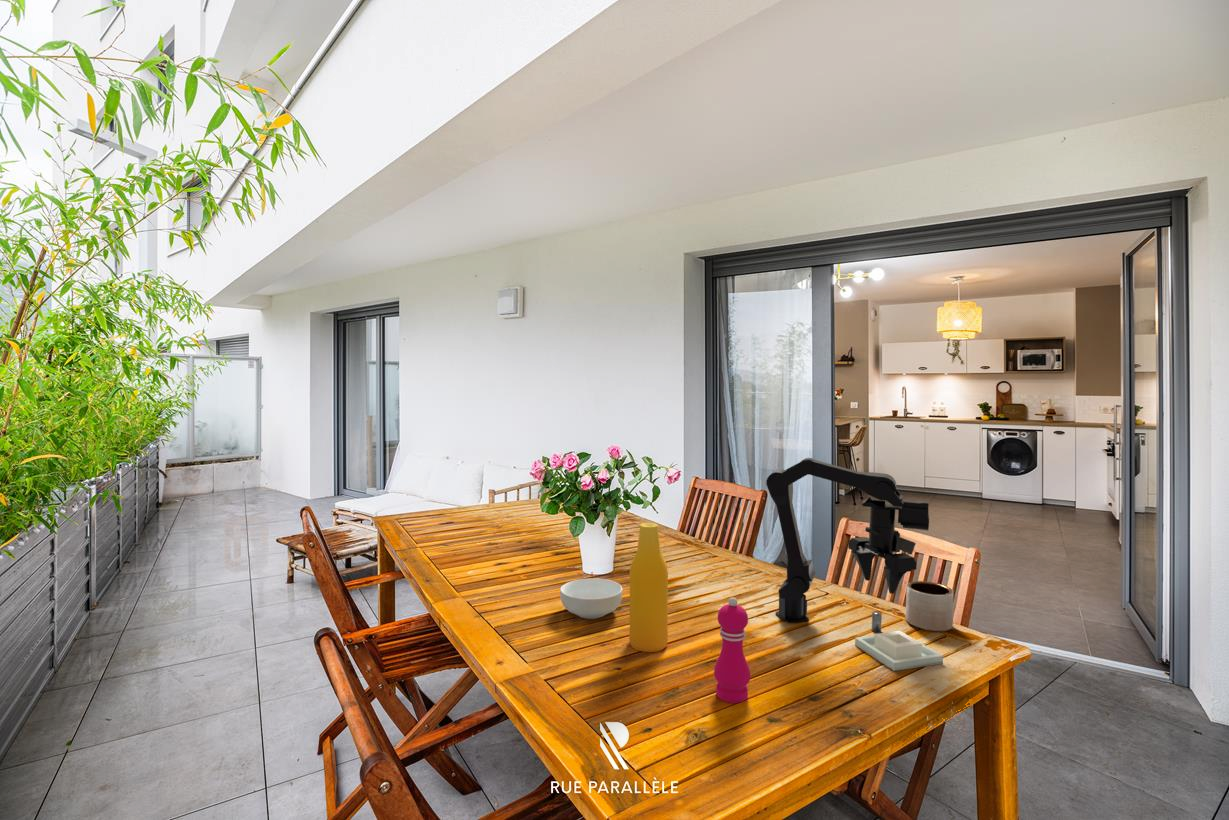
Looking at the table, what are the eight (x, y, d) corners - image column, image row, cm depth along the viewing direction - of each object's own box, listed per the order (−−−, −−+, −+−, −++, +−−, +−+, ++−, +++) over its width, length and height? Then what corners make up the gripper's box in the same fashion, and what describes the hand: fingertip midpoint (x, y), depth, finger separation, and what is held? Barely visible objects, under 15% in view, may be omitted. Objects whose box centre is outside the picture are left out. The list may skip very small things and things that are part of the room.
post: (875, 633, 148) (876, 615, 148) (869, 629, 150) (870, 612, 150) (883, 631, 149) (883, 614, 149) (877, 628, 151) (877, 611, 151)
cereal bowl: (632, 607, 165) (632, 582, 164) (606, 630, 150) (606, 603, 149) (578, 597, 172) (578, 574, 172) (548, 619, 157) (548, 592, 157)
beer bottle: (656, 656, 136) (657, 531, 134) (622, 646, 141) (622, 526, 139) (674, 641, 144) (675, 523, 142) (641, 632, 148) (641, 518, 147)
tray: (894, 671, 129) (894, 663, 129) (855, 645, 141) (855, 637, 141) (942, 663, 132) (943, 655, 132) (900, 638, 145) (900, 631, 145)
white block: (895, 660, 133) (896, 647, 133) (874, 646, 139) (874, 634, 139) (921, 656, 134) (922, 643, 134) (899, 643, 141) (899, 630, 141)
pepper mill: (709, 686, 123) (710, 591, 122) (744, 684, 123) (745, 590, 122) (719, 705, 115) (720, 605, 114) (755, 703, 116) (756, 603, 115)
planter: (947, 618, 157) (949, 583, 157) (956, 635, 147) (958, 597, 146) (902, 613, 161) (903, 578, 160) (908, 629, 150) (909, 592, 150)
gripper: (938, 533, 140) (934, 598, 141) (885, 515, 158) (882, 572, 159) (897, 536, 137) (894, 601, 138) (848, 516, 155) (845, 575, 156)
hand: (879, 586), depth 148 cm, fingers open, 9 cm apart
